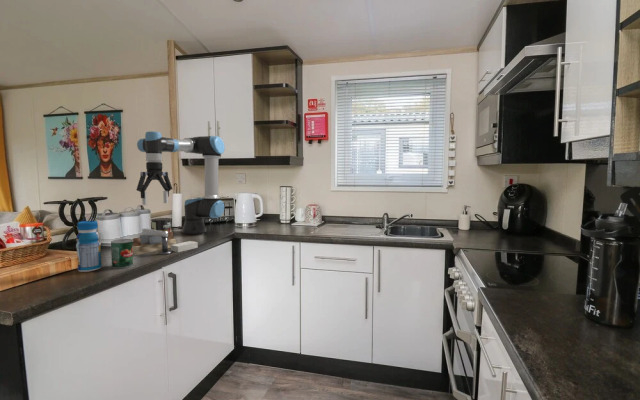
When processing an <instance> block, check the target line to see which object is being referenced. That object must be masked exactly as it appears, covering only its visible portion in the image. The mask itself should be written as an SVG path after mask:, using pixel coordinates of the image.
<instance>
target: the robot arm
mask: <svg viewBox="0 0 640 400" xmlns="http://www.w3.org/2000/svg"><path fill="white" fill-rule="evenodd" d="M144 136H145V137H144V138H140V139H139V140H137V142H136V146H137V149H138V151H140V153H141V152H142V153H145V161H146V163H145V168H146V171H141V172H140V177H139V180H138V184H137V187H136V191H137V192H140V199H141V201H142V202H141V203H142V206H147V205H148V195H147V194H148V193H147V192H146V191H147V188H148V187H149V185H150V184H151V182H152V181H158V183H159V184H160V185H161V187H162V189H163V191H162V192H163V204H168V203H169V196H170V191H171V190H173V187H172V186H173V185H172V183H171V181H170V178H169V173H168V171H163V163H162V162H163V153H175V152H184V153H186V154H196V155H201V156H202V158H203V159H204V196H202V197H198V198H189V199H185V200H184V206H183V207H184V224H183V227H182V231H181V232H182V234H184V235H196V234H197V235H198V234H204V233H206V232H207V227H206V225H205V222H204V218H205V219H206V218H207V219H208V218H209V219H218V218H220V217H221V216H222V215H223V213H224V211H225V204H224V201H222V199H221V197H220V196H219V160H220V158H221V156H222V154H224V152H225V143H224V141H223V139H222V138H221V137H220V136H217V135H207V136H192V137H185V138H183V139H182V138H181V139H179V138H176V139H175V138H172V137H164V136H162V133H161V132H159V131H153V130H151V131H146V132H145V135H144Z"/></svg>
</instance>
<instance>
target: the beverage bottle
mask: <svg viewBox="0 0 640 400" xmlns="http://www.w3.org/2000/svg"><path fill="white" fill-rule="evenodd" d="M76 227H77V231H78V234H77V235H76V238H75V241H76V244H75V248H76V255H77V257H76V258H77V271H78V272H79V273H80V272H81V273H83V272H84V273H88V272H94V271H97V270H100V269H101V268H102V254H101V253H102V251H101V246H102V242H101V235H100V234H99V232H98V231H97V230H98V228H99V225H98V221H97V220H85V221H79V222H77V226H76Z"/></svg>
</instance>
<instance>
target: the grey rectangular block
mask: <svg viewBox="0 0 640 400" xmlns="http://www.w3.org/2000/svg"><path fill="white" fill-rule="evenodd" d="M139 238H140V241H141V243H142V244H148V245H151V244H156V243H162V237H159V236H153V235H147V234H140V235H139Z"/></svg>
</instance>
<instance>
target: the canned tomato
mask: <svg viewBox="0 0 640 400" xmlns="http://www.w3.org/2000/svg"><path fill="white" fill-rule="evenodd" d="M132 245H133V239H131V238H120V239H115V240H111V241H110V249H111V251H110V252H111V253H110V254H111V268H112V269H125V268H129V267H132V266H133V265H134V254H133V253H132V252H133V251H132Z"/></svg>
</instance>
